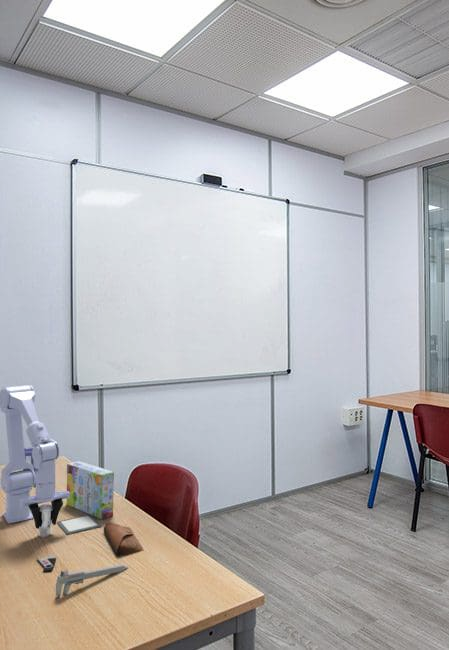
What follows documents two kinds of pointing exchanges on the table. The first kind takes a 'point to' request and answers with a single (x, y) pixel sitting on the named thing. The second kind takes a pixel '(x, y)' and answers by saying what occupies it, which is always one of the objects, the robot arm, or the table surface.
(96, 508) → the snack box
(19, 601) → the table surface
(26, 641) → the table surface
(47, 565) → the usb flash drive
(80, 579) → the caliper
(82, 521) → the mat
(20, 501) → the robot arm
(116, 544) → the sunglasses case
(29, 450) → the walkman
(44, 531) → the milkshake
